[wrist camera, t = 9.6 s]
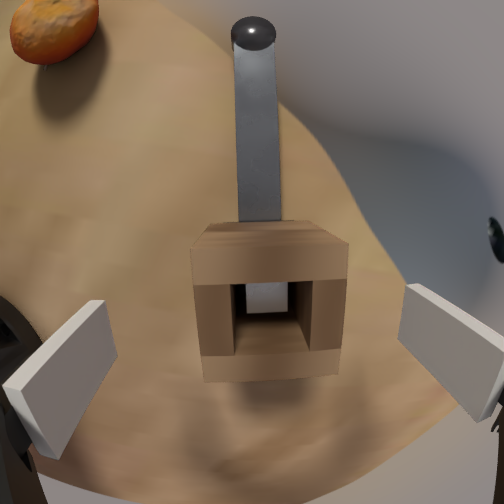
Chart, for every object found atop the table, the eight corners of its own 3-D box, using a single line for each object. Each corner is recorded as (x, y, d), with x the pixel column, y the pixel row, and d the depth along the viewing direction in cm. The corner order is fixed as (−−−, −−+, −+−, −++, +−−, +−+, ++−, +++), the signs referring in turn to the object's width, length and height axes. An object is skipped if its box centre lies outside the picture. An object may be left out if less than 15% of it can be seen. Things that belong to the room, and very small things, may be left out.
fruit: (14, 39, 16) (7, -14, 9) (86, 16, 20) (97, -38, 13) (20, 100, 18) (6, 50, 11) (99, 72, 22) (112, 18, 15)
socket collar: (216, 314, 21) (204, 382, 13) (210, 223, 20) (190, 249, 12) (306, 310, 21) (337, 374, 14) (308, 220, 20) (348, 243, 12)
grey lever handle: (227, 299, 24) (221, 344, 17) (218, 29, 19) (211, -20, 12) (293, 297, 24) (312, 339, 17) (285, 28, 19) (299, -20, 12)
